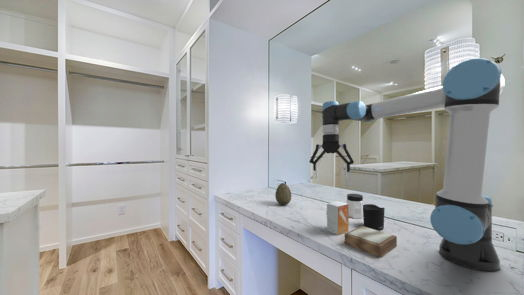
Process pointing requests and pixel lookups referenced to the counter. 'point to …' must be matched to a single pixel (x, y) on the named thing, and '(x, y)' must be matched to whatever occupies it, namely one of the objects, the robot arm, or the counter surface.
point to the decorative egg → (283, 194)
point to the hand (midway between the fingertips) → (331, 178)
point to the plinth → (371, 241)
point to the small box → (337, 217)
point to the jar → (355, 205)
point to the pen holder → (373, 216)
